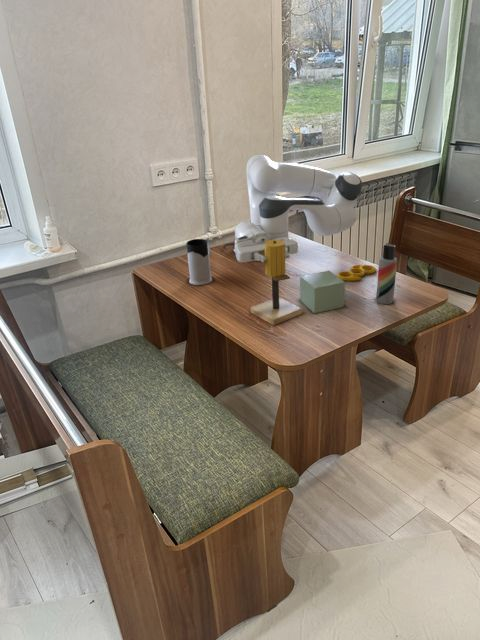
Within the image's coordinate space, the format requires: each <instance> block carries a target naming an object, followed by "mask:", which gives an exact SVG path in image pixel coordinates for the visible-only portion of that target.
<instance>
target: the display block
mask: <svg viewBox="0 0 480 640" xmlns="http://www.w3.org/2000/svg"><path fill="white" fill-rule="evenodd" d="M337 276H338V275H336V274H335V273H333V272H332V271H331V270H324V271H319V272H314V273H309V274H304V275H300V276H299V301H300V302H301V303H302V304H303V305H304V306H306V307H307V308H308V309H309V310H310V311H311V312H312V313H314V314H317V313H323V312H326V311H331V310H336V309H340V308H341V309H342V308H344V307H345V289H346V281H345V280H341V279H340V278H339V277H337Z"/></svg>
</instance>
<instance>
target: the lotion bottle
mask: <svg viewBox="0 0 480 640" xmlns="http://www.w3.org/2000/svg"><path fill="white" fill-rule="evenodd" d="M382 246H383V247H382V256H380V257H379V261H378V271H377V283H376V295H375V296H376V297H375V300H376V302H377V303H378V304H381V305H391V304H392V303H393V302H394V296H395V287H396V275H397V266H398V258H397V257H395V256H396V245H395V244H392V243H389V242H386V243H384V244H383V245H382Z"/></svg>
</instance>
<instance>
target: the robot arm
mask: <svg viewBox="0 0 480 640" xmlns="http://www.w3.org/2000/svg"><path fill="white" fill-rule="evenodd" d="M245 173H246V183H247V193H248V200H249V201H248V202H249V215H250V217H249V218H250V221H249V220H242V221H241V222H239V223H238V224H237V225H236V227H235V230H234V236H235V238H234V239H233V243H232V242H231V243H226V244H224V245H223V246H222V247H223V248H226V247H228V246H229V247H230V246H233V247H232V248H233V252H234V254H235V258H236V260H237V262H238V263H242V264H245V263H249V262H261V263H265V262H267V257H266V256H265V247H264V246H265V242H266V241H269V240H282V241H284V242H285V259H289V258H290V255H294V254H297V253H298V251H299V244H298V241H296V240H295V239H293V238H291V237H289V215H290V212H291V211H303V213H304V215H305V218H306V222H307V225H308V227H309V228H310V231H312V232H313V233H314V234H315V235H317V236H318V237H329V236H333V235H336V234H339V233H342V232H344V231H346V230H348V229H350V228H352V227H353V226H355V224H356V221H357V212H356V209H355V207H356V204H357V201H358V199H359V196H360V195H361V193H362V190H363V181H362V179H361V178H360V177H359V176H358V175H357V174H356V173H353V172H349V171H347V172H346V171H345V172H341V173H340V174H339V175H338V176H336V175H335V174H334V173H332V172H331V171H328V170H325V169H322V168H319V167H314V166H309V165H304V164H299V163H294V162H293V163H287V162H277V161H274V160H271V158H270V157H268V156H267V155H264V154H255V155H253V156H251V157H250V158H249V159H248V161H247V163H246V166H245ZM277 193H287V194H288V193H289V194H293V195H294V194H295V195H300V196H280V195H277ZM305 196H306V197H305Z"/></svg>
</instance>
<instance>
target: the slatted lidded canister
mask: <svg viewBox="0 0 480 640" xmlns="http://www.w3.org/2000/svg"><path fill="white" fill-rule="evenodd" d="M264 247H265V256H266V257H267V262H264V268H265V269H264V273H265V276H267V277H270V278H271V280H272V279H273V280H274V281H279V282H280V281H285V280H290V279H291V277H290V275H288V274H286V258H285V242H284V241H282V240H269V241H266V242H265V246H264Z"/></svg>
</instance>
